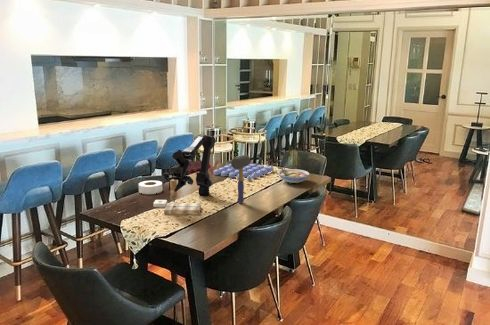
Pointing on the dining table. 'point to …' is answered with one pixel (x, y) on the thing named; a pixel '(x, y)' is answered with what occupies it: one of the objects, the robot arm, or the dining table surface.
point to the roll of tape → (150, 187)
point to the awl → (173, 190)
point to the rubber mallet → (240, 173)
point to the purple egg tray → (250, 171)
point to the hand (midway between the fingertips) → (172, 191)
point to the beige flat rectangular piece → (182, 208)
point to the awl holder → (160, 203)
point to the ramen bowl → (293, 175)
